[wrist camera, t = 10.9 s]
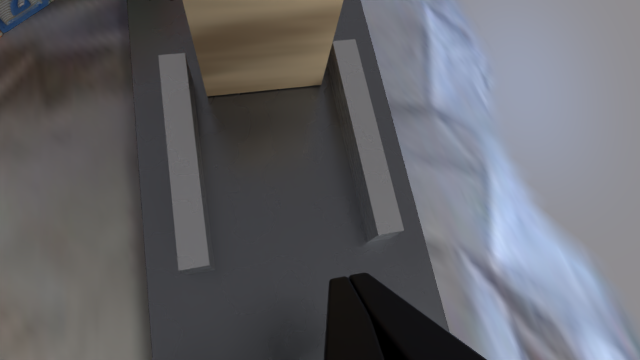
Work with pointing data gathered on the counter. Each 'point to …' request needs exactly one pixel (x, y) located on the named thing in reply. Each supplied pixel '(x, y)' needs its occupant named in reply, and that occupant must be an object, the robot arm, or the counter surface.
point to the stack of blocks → (18, 12)
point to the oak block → (261, 42)
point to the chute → (266, 196)
